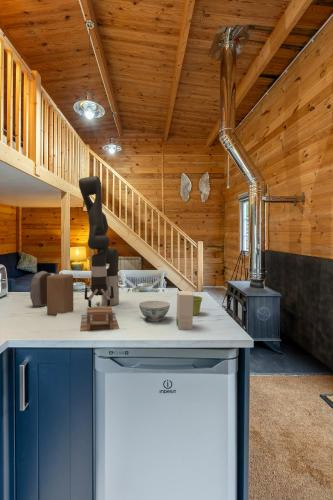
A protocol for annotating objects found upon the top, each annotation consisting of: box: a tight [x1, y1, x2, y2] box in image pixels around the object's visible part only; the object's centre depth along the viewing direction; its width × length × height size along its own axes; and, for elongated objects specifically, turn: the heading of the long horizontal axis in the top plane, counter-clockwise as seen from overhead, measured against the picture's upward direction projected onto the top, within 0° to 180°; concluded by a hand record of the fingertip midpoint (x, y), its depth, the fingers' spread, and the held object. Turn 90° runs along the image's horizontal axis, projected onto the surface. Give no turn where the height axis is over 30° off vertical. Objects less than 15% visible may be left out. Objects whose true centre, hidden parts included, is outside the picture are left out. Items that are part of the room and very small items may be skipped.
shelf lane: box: [79, 306, 120, 332], centre depth 137 cm, size 26×16×9 cm, turn 14°
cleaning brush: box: [29, 270, 52, 307], centre depth 174 cm, size 15×8×20 cm, turn 160°
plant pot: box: [193, 295, 203, 316], centre depth 157 cm, size 9×9×9 cm
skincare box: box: [175, 290, 195, 330], centre depth 134 cm, size 8×7×16 cm
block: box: [46, 273, 74, 316], centre depth 156 cm, size 10×10×20 cm
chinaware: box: [138, 300, 171, 322], centre depth 146 cm, size 15×15×8 cm
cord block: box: [92, 301, 106, 321], centre depth 147 cm, size 18×6×5 cm, turn 14°
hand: (99, 307), depth 151 cm, fingers open, 8 cm apart
